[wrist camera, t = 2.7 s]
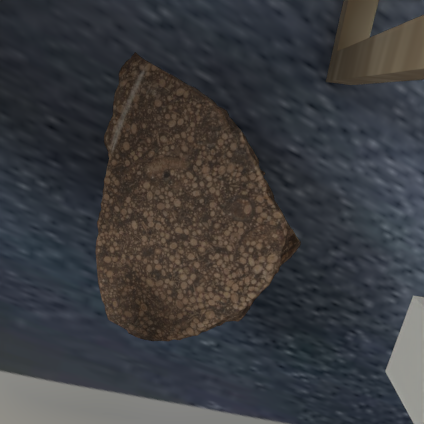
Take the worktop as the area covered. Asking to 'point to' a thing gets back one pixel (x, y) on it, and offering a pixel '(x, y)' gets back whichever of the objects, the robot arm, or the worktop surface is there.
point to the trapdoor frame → (375, 48)
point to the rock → (182, 212)
